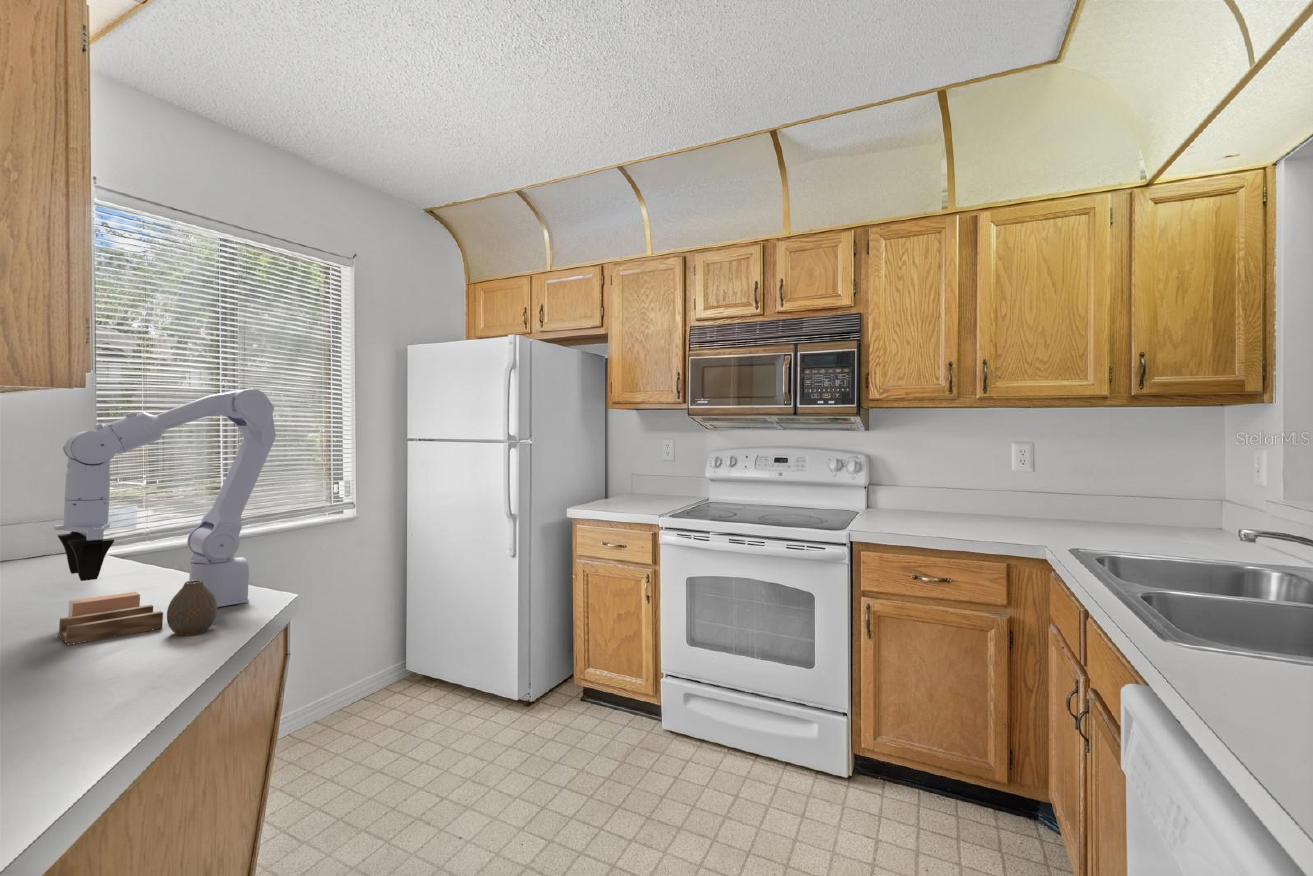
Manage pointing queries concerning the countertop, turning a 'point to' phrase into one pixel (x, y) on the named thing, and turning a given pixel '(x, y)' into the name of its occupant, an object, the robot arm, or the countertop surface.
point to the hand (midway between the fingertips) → (83, 576)
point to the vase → (192, 609)
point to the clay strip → (103, 604)
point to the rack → (109, 624)
